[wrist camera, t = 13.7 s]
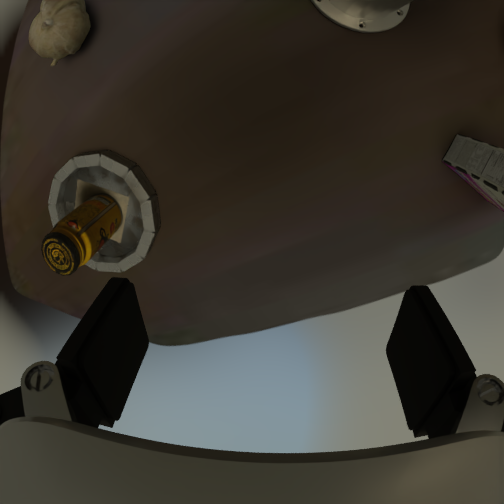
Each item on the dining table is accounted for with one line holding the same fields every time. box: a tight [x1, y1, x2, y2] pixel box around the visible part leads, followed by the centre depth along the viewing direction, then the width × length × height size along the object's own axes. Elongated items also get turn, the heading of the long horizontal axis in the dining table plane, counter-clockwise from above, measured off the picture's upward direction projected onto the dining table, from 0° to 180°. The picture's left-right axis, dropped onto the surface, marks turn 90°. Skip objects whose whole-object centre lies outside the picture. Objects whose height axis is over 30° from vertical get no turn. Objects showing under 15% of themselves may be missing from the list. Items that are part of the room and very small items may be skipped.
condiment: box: [42, 179, 129, 275], centre depth 34 cm, size 7×8×12 cm
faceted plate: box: [48, 150, 161, 272], centre depth 39 cm, size 17×17×2 cm
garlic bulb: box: [29, 0, 91, 66], centre depth 23 cm, size 9×8×10 cm
